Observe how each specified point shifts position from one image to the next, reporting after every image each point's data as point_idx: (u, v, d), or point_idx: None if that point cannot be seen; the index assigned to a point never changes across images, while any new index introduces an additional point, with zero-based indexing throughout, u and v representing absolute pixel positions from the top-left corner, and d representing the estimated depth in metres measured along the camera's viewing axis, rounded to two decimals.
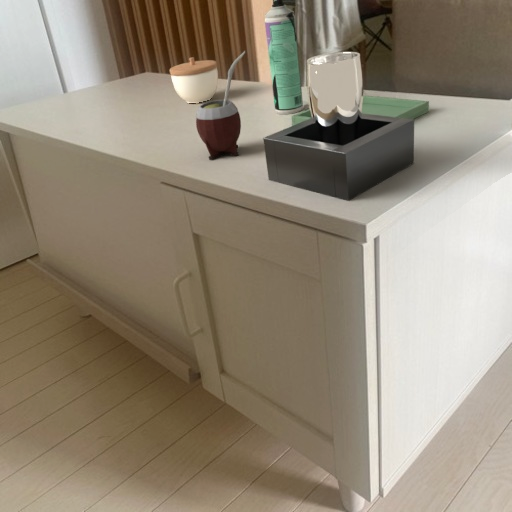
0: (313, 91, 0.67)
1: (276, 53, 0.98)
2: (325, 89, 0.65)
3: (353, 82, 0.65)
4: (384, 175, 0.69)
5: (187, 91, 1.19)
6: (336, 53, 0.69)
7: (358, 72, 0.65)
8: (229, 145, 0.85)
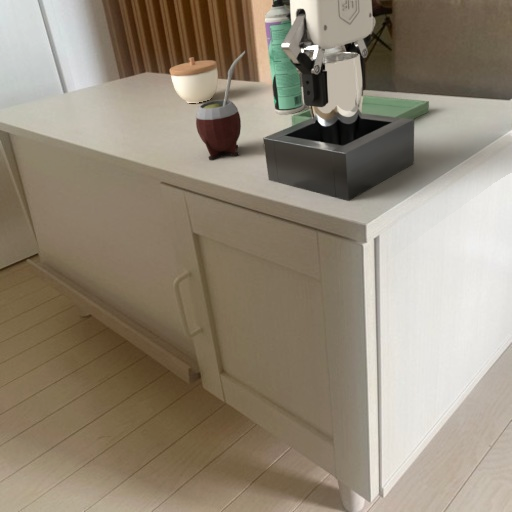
0: None
1: (276, 53, 0.98)
2: None
3: (353, 82, 0.65)
4: (384, 175, 0.69)
5: (187, 91, 1.19)
6: (336, 53, 0.69)
7: (358, 72, 0.65)
8: (229, 145, 0.85)
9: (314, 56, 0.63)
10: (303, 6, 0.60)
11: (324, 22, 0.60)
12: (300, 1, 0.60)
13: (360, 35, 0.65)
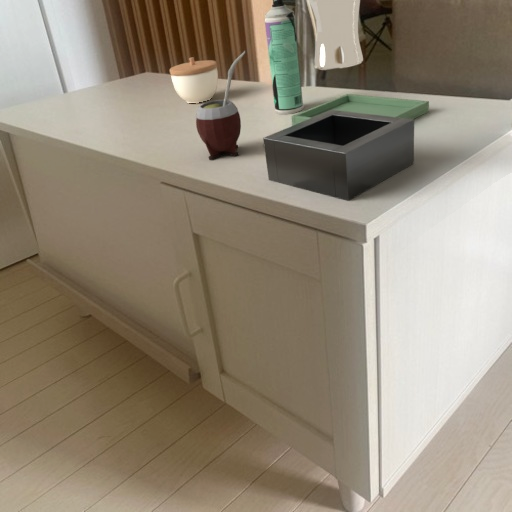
0: None
1: (276, 53, 0.98)
2: None
3: None
4: (384, 175, 0.69)
5: (187, 91, 1.19)
6: None
7: None
8: (229, 145, 0.85)
9: None
10: None
11: None
12: None
13: None
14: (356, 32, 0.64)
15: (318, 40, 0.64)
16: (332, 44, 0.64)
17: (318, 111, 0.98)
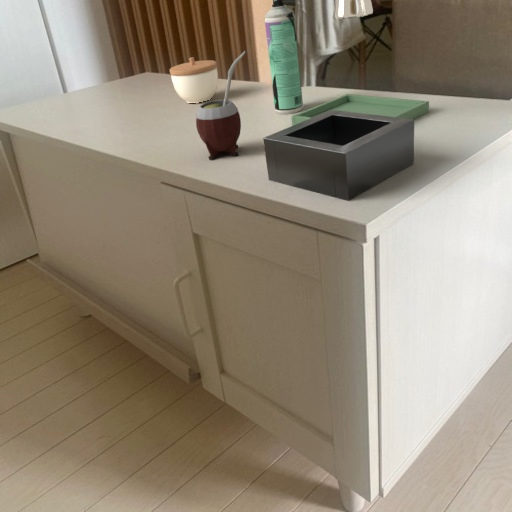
0: None
1: (276, 53, 0.98)
2: None
3: None
4: (384, 175, 0.69)
5: (187, 91, 1.19)
6: None
7: None
8: (229, 145, 0.85)
9: None
10: None
11: None
12: None
13: None
14: None
15: None
16: None
17: (318, 111, 0.98)
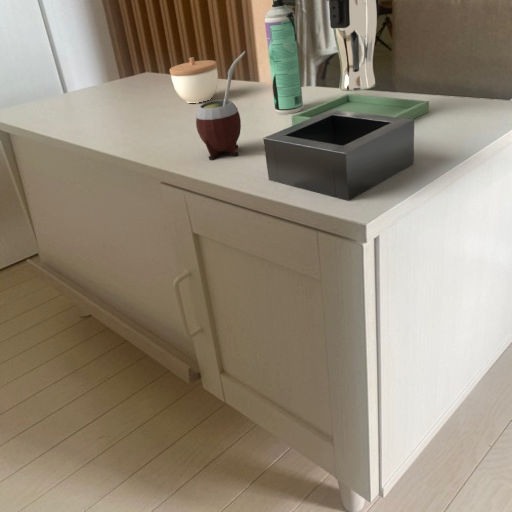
0: None
1: (276, 53, 0.98)
2: None
3: (369, 8, 0.83)
4: (384, 175, 0.69)
5: (187, 91, 1.19)
6: None
7: (373, 0, 0.83)
8: (229, 145, 0.85)
9: None
10: None
11: None
12: None
13: None
14: (371, 64, 0.88)
15: (343, 69, 0.89)
16: (354, 73, 0.88)
17: (318, 111, 0.98)
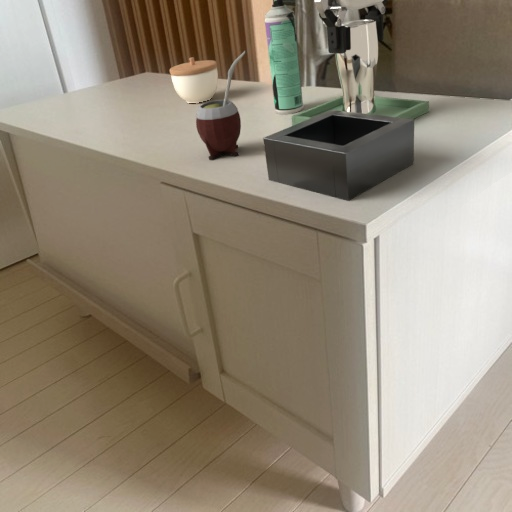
0: None
1: (276, 53, 0.98)
2: (349, 47, 0.85)
3: (371, 41, 0.85)
4: (384, 175, 0.69)
5: (187, 91, 1.19)
6: (357, 21, 0.89)
7: (374, 34, 0.85)
8: (229, 145, 0.85)
9: (338, 12, 0.82)
10: None
11: None
12: None
13: (376, 0, 0.84)
14: (373, 95, 0.91)
15: (345, 99, 0.91)
16: (356, 103, 0.90)
17: (318, 111, 0.98)
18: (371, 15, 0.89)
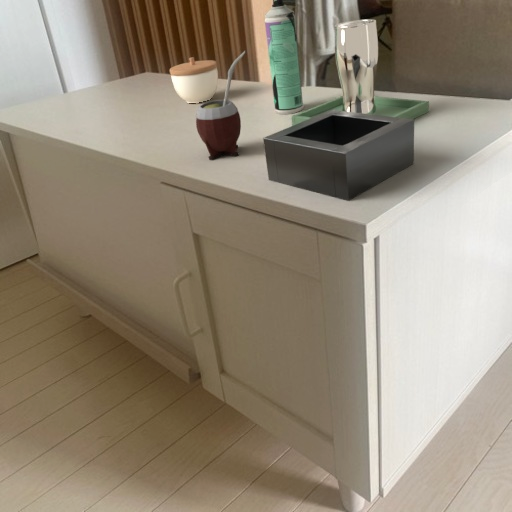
0: (340, 49, 0.87)
1: (276, 53, 0.98)
2: (349, 47, 0.85)
3: (371, 41, 0.85)
4: (384, 175, 0.69)
5: (187, 91, 1.19)
6: (357, 21, 0.89)
7: (374, 34, 0.85)
8: (229, 145, 0.85)
9: None
10: None
11: None
12: None
13: None
14: (373, 95, 0.91)
15: (345, 99, 0.91)
16: (356, 103, 0.90)
17: (318, 111, 0.98)
18: None
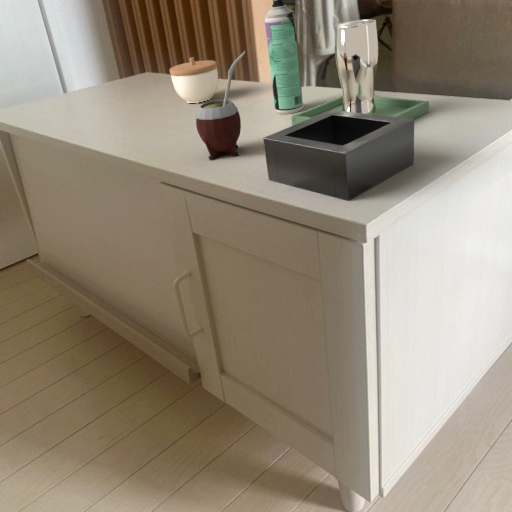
0: (340, 49, 0.87)
1: (276, 53, 0.98)
2: (349, 47, 0.85)
3: (371, 41, 0.85)
4: (384, 175, 0.69)
5: (187, 91, 1.19)
6: (357, 21, 0.89)
7: (374, 34, 0.85)
8: (229, 145, 0.85)
9: None
10: None
11: None
12: None
13: None
14: (373, 95, 0.91)
15: (345, 99, 0.91)
16: (356, 103, 0.90)
17: (318, 111, 0.98)
18: None
